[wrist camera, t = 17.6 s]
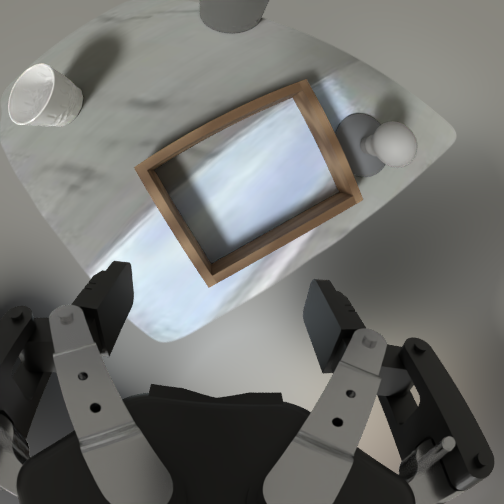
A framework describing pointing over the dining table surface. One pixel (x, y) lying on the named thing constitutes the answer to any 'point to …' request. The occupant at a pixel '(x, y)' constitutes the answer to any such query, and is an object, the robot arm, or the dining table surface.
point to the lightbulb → (391, 144)
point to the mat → (358, 144)
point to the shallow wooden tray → (281, 233)
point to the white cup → (44, 98)
